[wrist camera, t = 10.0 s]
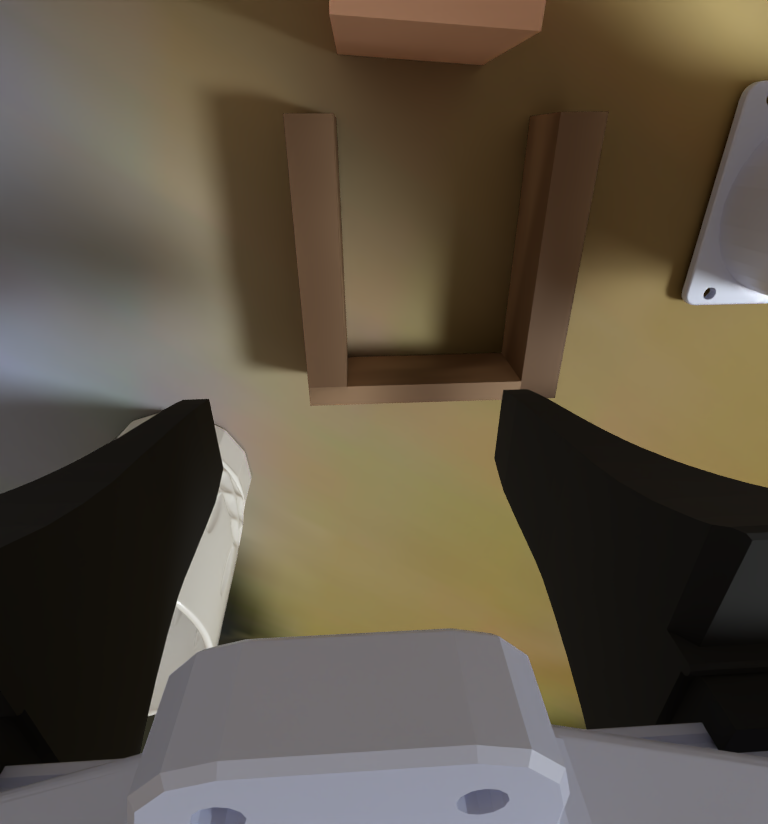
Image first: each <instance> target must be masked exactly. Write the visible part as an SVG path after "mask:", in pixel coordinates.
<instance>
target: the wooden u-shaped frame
mask: <svg viewBox="0 0 768 824" xmlns="http://www.w3.org/2000/svg"><path fill="white" fill-rule="evenodd" d="M608 113H609V112H557V113H550V114H543V115H536V116H530V121H529V129H528V138H527V146H526V154H525V163H524V171H523V179H522V187H521V196H520V204H519V212H518V220H517V229H516V237H515V245H514V254H513V262H512V270H511V278H510V287H509V295H508V303H507V312H506V320H505V328H504V336H503V345H502V353H477V354H441V355H405V356H370V357H348V350H347V329H346V308H345V288H344V267H343V246H342V225H341V204H340V183H339V162H338V141H337V120H336V116H335V115H334V114H333V113H285V114H283V118H284V129H285V140H286V150H287V161H288V172H289V182H290V193H291V203H292V214H293V225H294V235H295V246H296V257H297V267H298V278H299V289H300V299H301V310H302V321H303V331H304V342H305V352H306V363H307V374H308V384H309V395H310V406H316V405H347V404H378V403H409V402H441V401H472V400H502V395H503V390H516V389H528V390H531V391H533V392H535V393H538V394H539V395H541V396H543V397H545V398H555V394H556V389H557V383H558V378H559V373H560V367H561V362H562V357H563V351H564V346H565V341H566V336H567V330H568V325H569V320H570V314H571V309H572V304H573V298H574V293H575V288H576V283H577V277H578V272H579V267H580V261H581V256H582V251H583V245H584V240H585V235H586V229H587V224H588V219H589V214H590V208H591V203H592V198H593V192H594V187H595V182H596V176H597V171H598V166H599V160H600V155H601V150H602V145H603V139H604V134H605V129H606V123H607V118H608Z"/></svg>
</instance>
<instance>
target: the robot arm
mask: <svg viewBox="0 0 768 824" xmlns="http://www.w3.org/2000/svg"><path fill="white" fill-rule="evenodd" d="M767 96H768V81H758V82H754V83H752V84H750V85H749V86H747V88H746V89H745V90H744V91H743V93H742V95H741V97H740V100H739V103H738V106H737V110H736V113H735V116H734V120H733V123H732V126H731V130H730V133H729V136H728V140H727V143H726V146H725V150H724V153H723V156H722V160H721V163H720V167H719V170H718V173H717V177H716V180H715V183H714V187H713V190H712V193H711V197H710V200H709V203H708V207H707V210H706V213H705V217H704V220H703V223H702V227H701V230H700V233H699V237H698V240H697V244H696V247H695V250H694V254H693V257H692V260H691V264H690V267H689V270H688V274H687V277H686V280H685V284H684V287H683V290H682V299H683V300H684V301H685V302H686V303H688V304H691V305H717V304H759V303H768V105H767V102H766V100H767ZM708 288H710V292H709V293H708V294H707V295H706V296H704V292H705V291H706V290H707V289H708ZM703 296H704V297H703ZM495 462H496V466H497V470H498V473H499V477H500V480H501V484H502V487H503V490H504V493H505V495H506V497H507V500H508V502H509V504H510V506H511V508H512V511H513V513H514V515H515V517H516V520H517V522H518V524H519V526H520V528H521V530H522V533H523V535H524V537H525V539H526V541H527V543H528V546H529V548H530V550H531V552H532V554H533V556H534V559H535V561H536V563H537V566H538V568H539V571H540V573H541V576H542V578H543V581H544V584H545V587H546V590H547V593H548V596H549V599H550V602H551V605H552V608H553V611H554V614H555V618H556V621H557V624H558V627H559V631H560V634H561V637H562V641H563V644H564V647H565V651H566V654H567V657H568V661H569V665H570V668H571V672H572V675H573V679H574V683H575V686H576V690H577V694H578V697H579V701H580V704H581V708H582V712H583V716H584V720H585V724H586V728H587V730H584V729H578V728H571V727H565V726H558V725H551V723H550V720H549V717H548V714H547V711H546V708H545V705H544V702H543V699H542V696H541V693H540V690H539V687H538V684H537V682H536V679H535V676H534V673H533V670H532V667H531V664H530V661H529V658H528V656H527V655H526V654H524V653H523V652H522V651H520V650H519V649H517V648H516V647H514V646H513V645H511V644H510V643H508V642H507V641H505V640H504V639H502V638H501V637H499V636H497V635H494V634H491V633H483V632H475V631H467V630H459V629H432V630H413V631H394V632H375V633H356V634H337V635H318V636H299V637H280V638H261V639H246V640H242V641H237V642H233V643H229V644H224V645H220V646H216V647H211V648H207V649H204V650H202V651H199V652H197V653H196V654H195V655H194V656H192V657H191V658H190V659H189V660H187V661H186V662H185V663H184V664H183V665H181V666H180V667H179V668H178V669H177V670H175V671H174V672H173V673H172V674H171V675H169V678H168V681H167V684H166V687H165V690H164V692H163V695H162V698H161V701H160V704H159V707H158V710H157V713H156V716H155V719H154V722H153V724H152V727H151V730H150V733H149V736H148V739H147V742H146V745H145V747H144V750H143V753H142V754H140V751H141V746H142V740H143V735H144V731H145V726H146V722H147V718H148V713H149V709H150V704H151V700H152V696H153V691H154V687H155V682H156V678H157V674H158V670H159V666H160V662H161V658H162V655H163V651H164V647H165V643H166V639H167V635H168V631H169V628H170V624H171V621H172V617H173V614H174V610H175V607H176V603H177V599H178V596H179V593H180V590H181V588H182V585H183V582H184V579H185V577H186V574H187V572H188V569H189V567H190V564H191V562H192V560H193V557H194V555H195V552H196V550H197V547H198V545H199V543H200V540H201V538H202V535H203V533H204V530H205V528H206V525H207V523H208V520H209V518H210V515H211V513H212V510H213V508H214V505H215V502H216V499H217V495H218V491H219V487H220V482H221V478H222V473H223V463H222V459H221V454H220V449H219V444H218V440H217V435H216V430H215V425H214V421H213V416H212V411H211V406H210V402H209V399H196V400H182V401H180V402H178V403H176V404H174V405H172V406H170V407H168V408H166V409H165V410H163V411H161V412H160V413H158V414H156V415H155V416H153V417H152V418H150V419H148V420H147V421H145V422H143V423H142V424H140V425H138V426H137V427H135V428H134V429H132V430H130V431H129V432H127V433H125V434H124V435H122V436H120V437H119V438H117V439H115V440H113V441H112V442H110V443H108V444H106V445H104V446H103V447H101V448H99V449H97V450H96V451H94V452H92V453H90V454H88V455H87V456H85V457H83V458H81V459H79V460H77V461H75V462H73V463H71V464H69V465H67V466H65V467H63V468H61V469H59V470H57V471H55V472H53V473H50V474H48V475H46V476H44V477H42V478H39V479H37V480H35V481H33V482H30V483H28V484H26V485H23V486H20V487H18V488H15V489H13V490H10V491H7V492H5V493H2V494H0V824H768V488H766V487H762V486H758V485H754V484H749V483H745V482H742V481H738V480H734V479H731V478H727V477H724V476H720V475H717V474H714V473H711V472H707V471H704V470H701V469H698V468H695V467H692V466H688V465H685V464H683V463H680V462H677V461H674V460H671V459H669V458H666V457H664V456H661V455H659V454H656V453H654V452H651V451H649V450H646V449H644V448H641V447H639V446H637V445H634V444H632V443H630V442H628V441H625V440H623V439H621V438H619V437H617V436H615V435H613V434H611V433H609V432H607V431H605V430H603V429H601V428H599V427H597V426H595V425H593V424H592V423H590V422H588V421H586V420H584V419H582V418H581V417H579V416H577V415H575V414H573V413H572V412H570V411H568V410H566V409H565V408H563V407H561V406H559V405H558V404H556V403H554V402H552V401H551V400H549V399H547V398H545V397H543V396H541V395H539V394H538V393H535V392H533V391H531V390H528V389H516V390H503V395H502V403H501V411H500V419H499V426H498V434H497V442H496V450H495Z"/></svg>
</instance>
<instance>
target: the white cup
mask: <svg viewBox="0 0 768 824" xmlns="http://www.w3.org/2000/svg"><path fill="white" fill-rule="evenodd" d="M157 414H158V413H157ZM155 415H156V414H154V415H150V416H147V417H144V418H141V419H137V420H134V421H132V422H131V423H130V424H129V425H128V426H127V427H126V428H125V429H124V430H123V431H122V432H121V433H120V434H119V435H118V436H117V438H119V437H120V436H122V435H124V434H125V433H127V432H129V431H130V430H132V429H134V428H135V427H137V426H138V425H140V424H142V423H143V422H145V421H147V420H148V419H150V418H152V417H153V416H155ZM214 425H215V424H214ZM215 430H216V435H217V440H218V444H219V449H220V454H221V459H222V463H223V473H222V478H221V482H220V487H219V491H218V495H217V499H216V502H215V505H214V508H213V510H212V513H211V515H210V518H209V520H208V523H207V525H206V528H205V530H204V533H203V535H202V538H201V540H200V543H199V545H198V547H197V550H196V552H195V555H194V557H193V560H192V562H191V564H190V567H189V569H188V572H187V574H186V577H185V579H184V582H183V585H182V588H181V590H180V593H179V596H178V599H177V603H176V607H175V610H174V614H173V617H172V621H171V624H170V628H169V631H168V635H167V639H166V643H165V647H164V651H163V655H162V658H161V662H160V666H159V670H158V674H157V678H156V682H155V687H154V691H153V696H152V700H151V704H150V709H149V713H148V716H151V715H154V714H156V713H157V710H158V707H159V704H160V701H161V698H162V695H163V692H164V690H165V687H166V684H167V681H168V678H169V675H171V674H172V673H173V672H174V671H175V670H177V669H178V668H179V667H180V666H181V665H183V664H184V663H185V662H186V661H187V660H189V659H190V658H191V657H192V656H194V655H195V654H196V653H197V652H199V651H202V650H204V649H207V648H211V647H216V646H218V642H219V637H220V633H221V628H222V623H223V619H224V614H225V610H226V605H227V601H228V596H229V592H230V587H231V583H232V578H233V574H234V569H235V565H236V560H237V556H238V551H239V544H240V539H241V534H242V528H243V515H244V508H245V502H246V498H247V494H248V490H249V486H250V482H251V473H250V469H249V466H248V462H247V458H246V454H245V452H244V450H243V449H242V448H241V447H240V446H239V445H238V444H237V442H236V441H235V440H234V439H233V438H232V437H231V436H230V435H229V433H228V432H227V431H226V430H225V429H223V428H221V427H219V426H217V425H215ZM117 438H116V439H117Z"/></svg>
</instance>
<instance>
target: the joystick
mask: <svg viewBox="0 0 768 824" xmlns="http://www.w3.org/2000/svg"><path fill="white" fill-rule="evenodd" d="M545 5H546V0H329V15H330V20H331V25H332V30H333V35H334V40H335V45H336V51H337V54H339V55H352V56H365V57H379V58H392V59H405V60H419V61H432V62H445V63H459V64H472V65H484V64H485V63H487V62H489V61H491V60H492V59H494V58H496V57H498V56H499V55H501V54H503V53H504V52H506V51H508V50H510V49H511V48H513V47H515V46H516V45H518V44H520V43H522V42H523V41H525V40H527V39H529V38H530V37H532V36H534V35H535V34H537V33H539V32H541V28H542V23H543V17H544V11H545Z"/></svg>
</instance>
